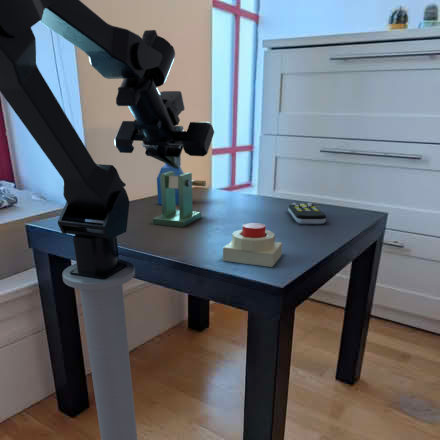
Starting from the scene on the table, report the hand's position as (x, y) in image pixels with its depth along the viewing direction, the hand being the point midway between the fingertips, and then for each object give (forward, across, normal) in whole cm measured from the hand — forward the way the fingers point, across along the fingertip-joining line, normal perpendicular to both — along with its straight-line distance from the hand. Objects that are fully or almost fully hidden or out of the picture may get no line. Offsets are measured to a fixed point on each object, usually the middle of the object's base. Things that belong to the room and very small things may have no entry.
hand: (178, 166), depth 86 cm
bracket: (+7, 0, +8) cm, 11 cm away
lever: (+5, 0, +2) cm, 5 cm away
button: (-8, -22, +18) cm, 30 cm away
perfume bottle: (+19, +10, -4) cm, 22 cm away
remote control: (+16, -25, -1) cm, 30 cm away
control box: (-5, -22, +21) cm, 31 cm away
